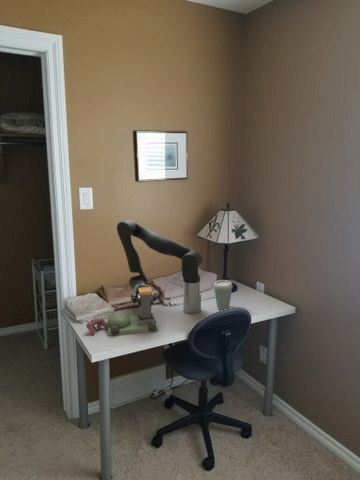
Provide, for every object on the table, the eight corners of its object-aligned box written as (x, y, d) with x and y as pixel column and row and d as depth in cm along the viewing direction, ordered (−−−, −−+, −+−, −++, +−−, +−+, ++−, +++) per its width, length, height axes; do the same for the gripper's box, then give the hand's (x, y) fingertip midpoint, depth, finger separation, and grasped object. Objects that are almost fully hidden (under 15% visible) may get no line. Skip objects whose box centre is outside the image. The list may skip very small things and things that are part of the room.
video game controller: (104, 329, 196) (100, 316, 197) (109, 328, 193) (105, 314, 194) (88, 336, 189) (83, 322, 190) (93, 335, 186) (88, 321, 187)
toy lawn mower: (153, 317, 207) (153, 308, 206) (158, 330, 191) (158, 321, 190) (107, 321, 202) (107, 312, 201) (108, 335, 186) (108, 325, 185)
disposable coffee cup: (231, 312, 214) (232, 286, 211) (211, 310, 216) (212, 284, 213) (232, 304, 224) (233, 280, 221) (214, 303, 226) (214, 278, 223)
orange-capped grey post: (150, 312, 201) (150, 287, 198) (152, 317, 195) (152, 291, 192) (138, 313, 199) (138, 287, 196) (140, 318, 194) (139, 292, 191)
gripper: (128, 285, 207) (131, 297, 191) (155, 284, 210) (160, 295, 194) (128, 299, 208) (131, 311, 192) (155, 297, 211) (160, 309, 195)
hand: (146, 303), depth 193 cm, fingers closed on orange-capped grey post, 5 cm apart
